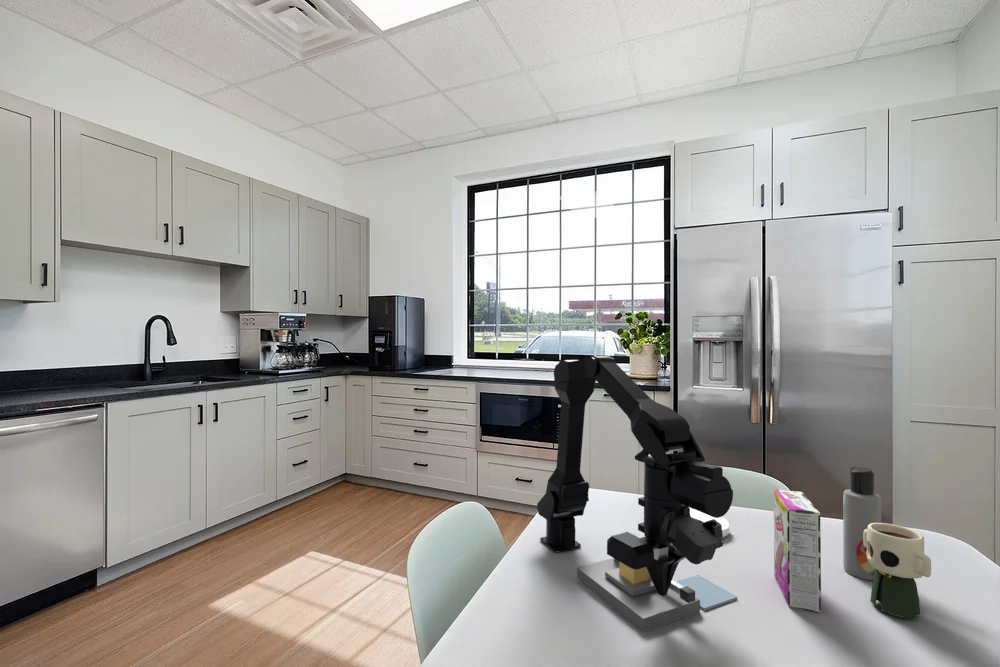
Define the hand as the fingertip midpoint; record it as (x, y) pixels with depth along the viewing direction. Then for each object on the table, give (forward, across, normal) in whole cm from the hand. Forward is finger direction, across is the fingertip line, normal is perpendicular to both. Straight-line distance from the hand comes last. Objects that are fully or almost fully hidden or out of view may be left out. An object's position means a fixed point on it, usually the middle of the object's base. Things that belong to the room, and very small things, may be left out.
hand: (662, 594), depth 71 cm
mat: (+4, +12, +2) cm, 13 cm away
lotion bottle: (+4, +46, -9) cm, 46 cm away
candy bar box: (+4, +27, -6) cm, 28 cm away
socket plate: (+4, +2, +7) cm, 8 cm away
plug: (+4, +2, +7) cm, 8 cm away
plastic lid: (+4, +36, +20) cm, 41 cm away
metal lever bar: (+1, +4, +6) cm, 8 cm away
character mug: (+4, +36, -17) cm, 40 cm away
